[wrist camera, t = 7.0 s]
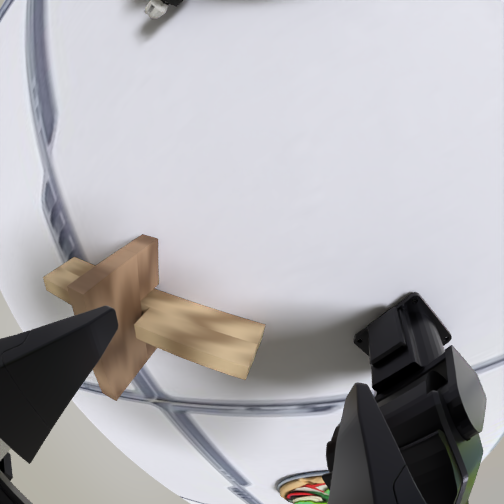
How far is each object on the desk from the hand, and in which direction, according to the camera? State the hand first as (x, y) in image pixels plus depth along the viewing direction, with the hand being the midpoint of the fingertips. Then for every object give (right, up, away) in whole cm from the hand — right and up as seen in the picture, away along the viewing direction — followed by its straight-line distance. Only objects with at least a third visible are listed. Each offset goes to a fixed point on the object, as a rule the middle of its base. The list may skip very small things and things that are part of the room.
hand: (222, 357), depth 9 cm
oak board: (-8, -1, +17) cm, 19 cm away
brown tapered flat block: (-8, -1, +16) cm, 19 cm away
